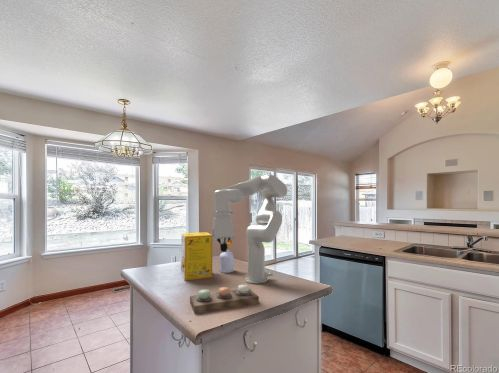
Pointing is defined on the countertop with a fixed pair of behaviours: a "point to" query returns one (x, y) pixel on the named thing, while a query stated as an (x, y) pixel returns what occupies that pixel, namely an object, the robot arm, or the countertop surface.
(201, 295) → the button sage
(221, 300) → the console
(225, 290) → the button terracotta
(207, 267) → the packaging box
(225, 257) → the soap bottle
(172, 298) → the countertop surface
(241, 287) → the button cream
